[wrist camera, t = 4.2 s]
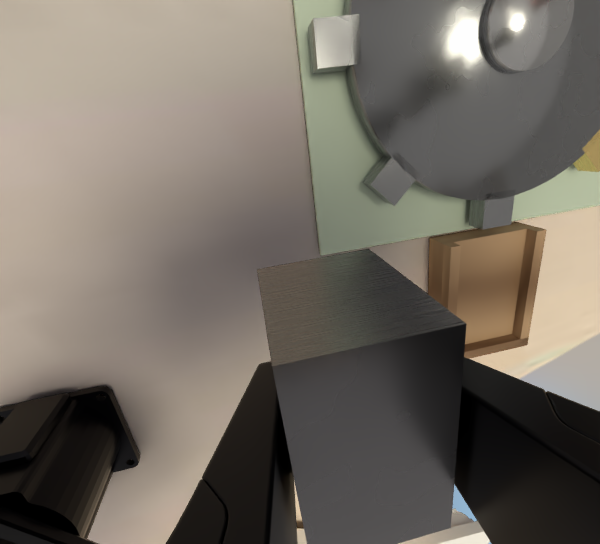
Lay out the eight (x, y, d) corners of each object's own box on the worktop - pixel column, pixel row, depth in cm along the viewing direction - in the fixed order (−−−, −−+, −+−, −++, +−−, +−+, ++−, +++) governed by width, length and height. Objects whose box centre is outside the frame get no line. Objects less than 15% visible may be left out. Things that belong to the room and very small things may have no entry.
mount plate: (610, 201, 21) (615, 202, 21) (319, 254, 19) (321, 255, 19) (719, -259, 14) (729, -268, 14) (263, -268, 12) (264, -278, 11)
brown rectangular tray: (502, 328, 24) (527, 345, 22) (426, 345, 23) (444, 364, 21) (516, 221, 21) (546, 229, 19) (429, 237, 20) (451, 247, 18)
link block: (376, 394, 10) (450, 528, 7) (285, 416, 10) (312, 569, 6) (368, 249, 9) (466, 323, 5) (256, 269, 8) (272, 366, 5)
